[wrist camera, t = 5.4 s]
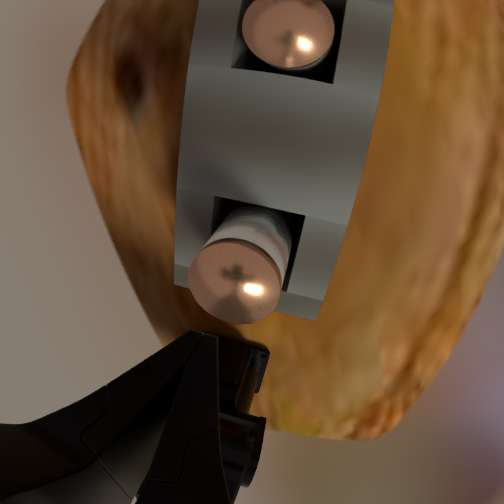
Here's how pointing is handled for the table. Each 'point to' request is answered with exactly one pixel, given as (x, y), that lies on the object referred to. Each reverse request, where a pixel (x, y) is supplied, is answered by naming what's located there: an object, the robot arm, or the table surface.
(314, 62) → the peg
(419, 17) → the table surface
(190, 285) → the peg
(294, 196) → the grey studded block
